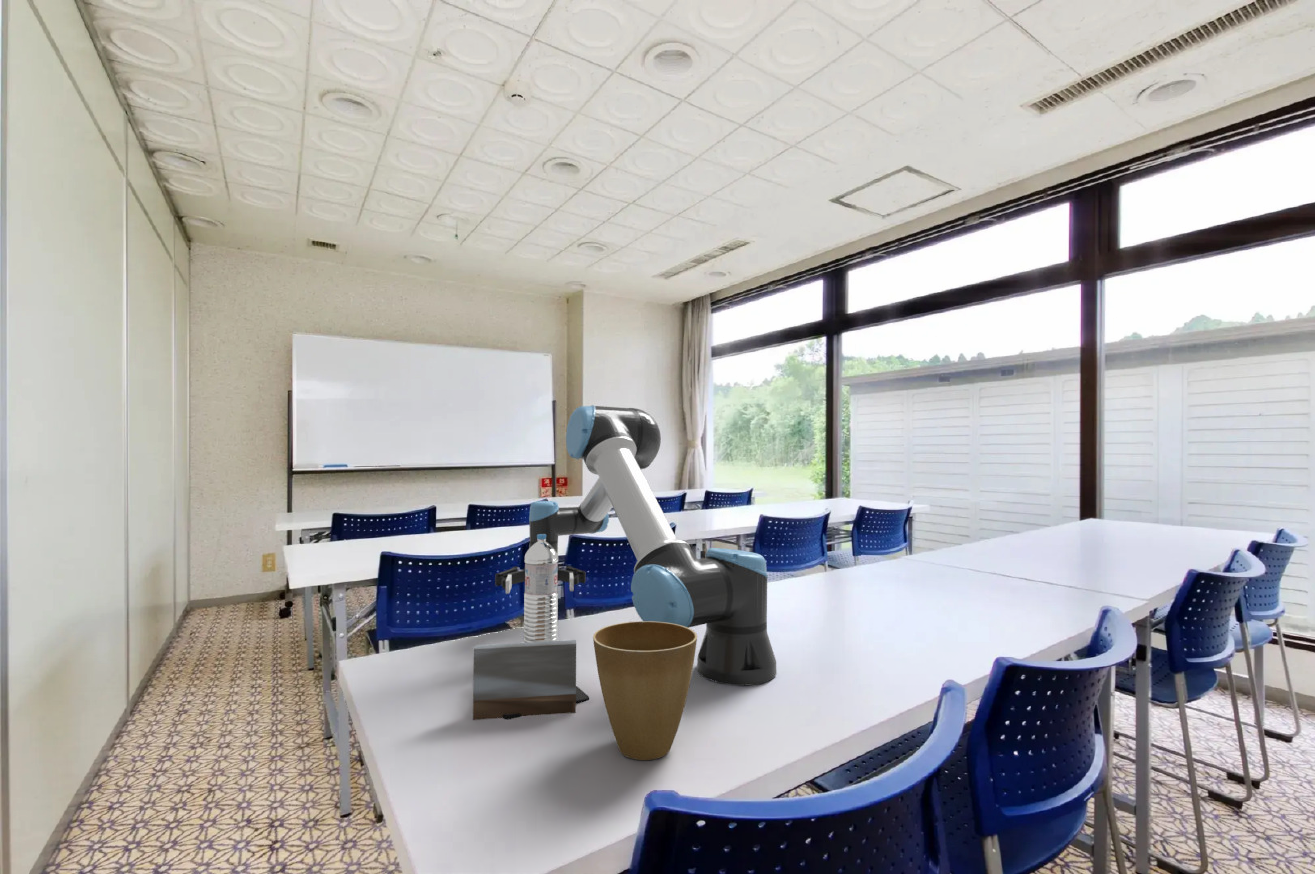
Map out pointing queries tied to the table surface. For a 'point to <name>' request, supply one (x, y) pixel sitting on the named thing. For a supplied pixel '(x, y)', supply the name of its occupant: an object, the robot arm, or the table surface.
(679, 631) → the plant pot
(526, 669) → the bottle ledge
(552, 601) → the water bottle
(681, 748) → the table surface
